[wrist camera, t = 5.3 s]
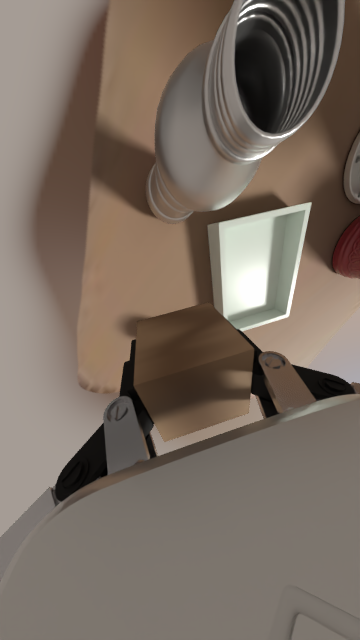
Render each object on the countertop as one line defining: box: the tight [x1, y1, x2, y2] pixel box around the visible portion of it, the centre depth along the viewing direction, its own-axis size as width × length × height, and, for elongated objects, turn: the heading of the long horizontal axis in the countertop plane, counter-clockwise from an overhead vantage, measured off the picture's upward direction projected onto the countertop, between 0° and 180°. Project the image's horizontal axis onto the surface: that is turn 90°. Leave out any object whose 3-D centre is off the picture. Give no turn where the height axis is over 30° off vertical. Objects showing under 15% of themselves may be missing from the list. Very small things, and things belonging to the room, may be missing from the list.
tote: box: [207, 202, 312, 331], centre depth 28 cm, size 15×20×4 cm
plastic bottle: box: [146, 0, 345, 224], centre depth 13 cm, size 6×7×20 cm
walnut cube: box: [133, 302, 254, 442], centre depth 10 cm, size 5×5×5 cm
